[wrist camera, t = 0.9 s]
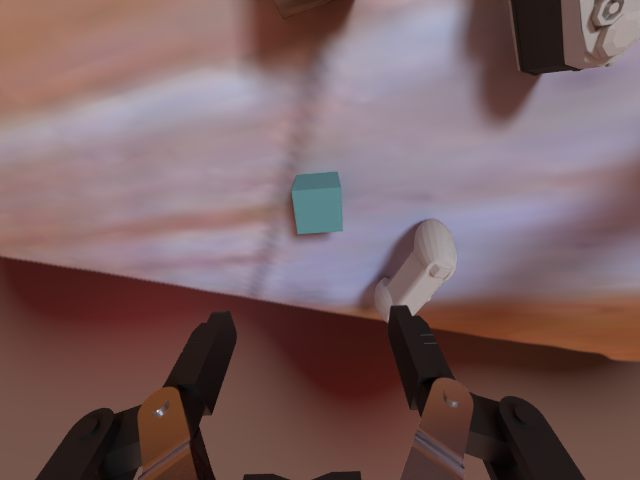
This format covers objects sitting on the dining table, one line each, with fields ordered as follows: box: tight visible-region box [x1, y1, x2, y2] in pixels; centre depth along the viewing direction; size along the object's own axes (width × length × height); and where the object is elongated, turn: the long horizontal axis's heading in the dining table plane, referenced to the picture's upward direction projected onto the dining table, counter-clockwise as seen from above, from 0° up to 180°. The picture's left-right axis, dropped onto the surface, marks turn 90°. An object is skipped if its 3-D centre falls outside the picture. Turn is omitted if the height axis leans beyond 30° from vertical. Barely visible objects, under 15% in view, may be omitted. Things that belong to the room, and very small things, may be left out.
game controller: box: [374, 219, 457, 323], centre depth 31 cm, size 14×4×10 cm, turn 156°
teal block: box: [292, 172, 343, 234], centre depth 28 cm, size 5×5×6 cm
